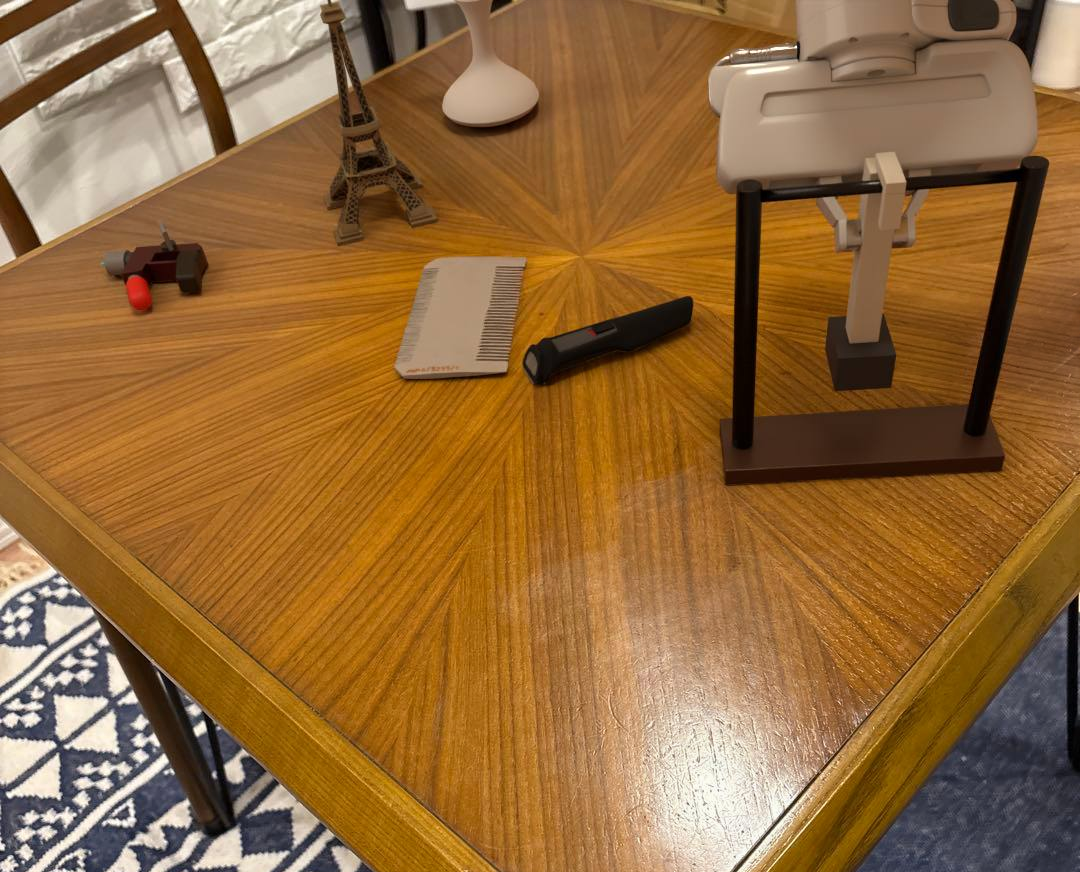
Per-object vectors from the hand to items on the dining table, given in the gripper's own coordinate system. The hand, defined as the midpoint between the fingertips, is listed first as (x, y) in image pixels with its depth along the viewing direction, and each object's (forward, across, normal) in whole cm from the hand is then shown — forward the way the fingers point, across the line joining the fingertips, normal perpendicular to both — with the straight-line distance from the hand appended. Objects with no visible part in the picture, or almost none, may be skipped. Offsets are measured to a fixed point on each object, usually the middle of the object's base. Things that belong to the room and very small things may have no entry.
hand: (875, 248), depth 73 cm
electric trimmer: (+2, -19, +21) cm, 29 cm away
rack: (+13, 0, +11) cm, 17 cm away
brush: (+7, 0, +8) cm, 10 cm away
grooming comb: (-2, -32, +26) cm, 41 cm away
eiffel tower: (-17, -43, +41) cm, 62 cm away
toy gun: (-8, -65, +32) cm, 73 cm away
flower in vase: (-31, -33, +55) cm, 71 cm away
